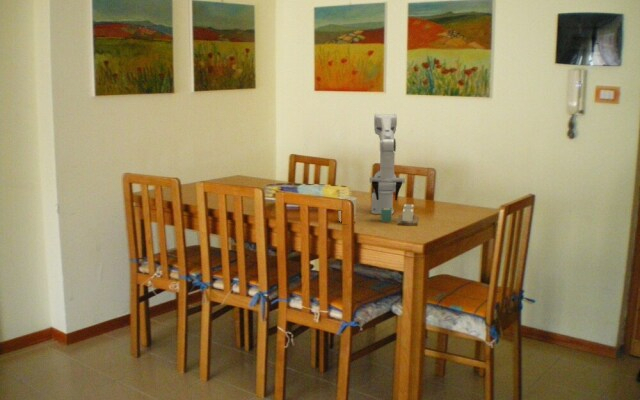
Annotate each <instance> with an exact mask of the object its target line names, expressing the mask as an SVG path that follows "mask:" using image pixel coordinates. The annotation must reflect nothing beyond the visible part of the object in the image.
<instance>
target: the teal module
mask: <svg viewBox="0 0 640 400" xmlns="http://www.w3.org/2000/svg"><path fill="white" fill-rule="evenodd" d="M380 215H381V216H380V220H381V221H380V222H381V223H383V222H384V223H392V218H393V217H392V215H393V214H392V208H382V210H381V214H380Z"/></svg>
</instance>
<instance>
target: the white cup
mask: <svg viewBox="0 0 640 400" xmlns="http://www.w3.org/2000/svg"><path fill="white" fill-rule="evenodd" d="M338 198H340V199H348V200H351V201H352V202H353V204H354V214H355V217H356V216H357V204H358V203H357V202H358V201H357V200H358V198H357V197H356V196H355V197H354V196H339V197H338ZM337 212H338V222H339V221H340V222H339V223H341V211H337Z"/></svg>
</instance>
